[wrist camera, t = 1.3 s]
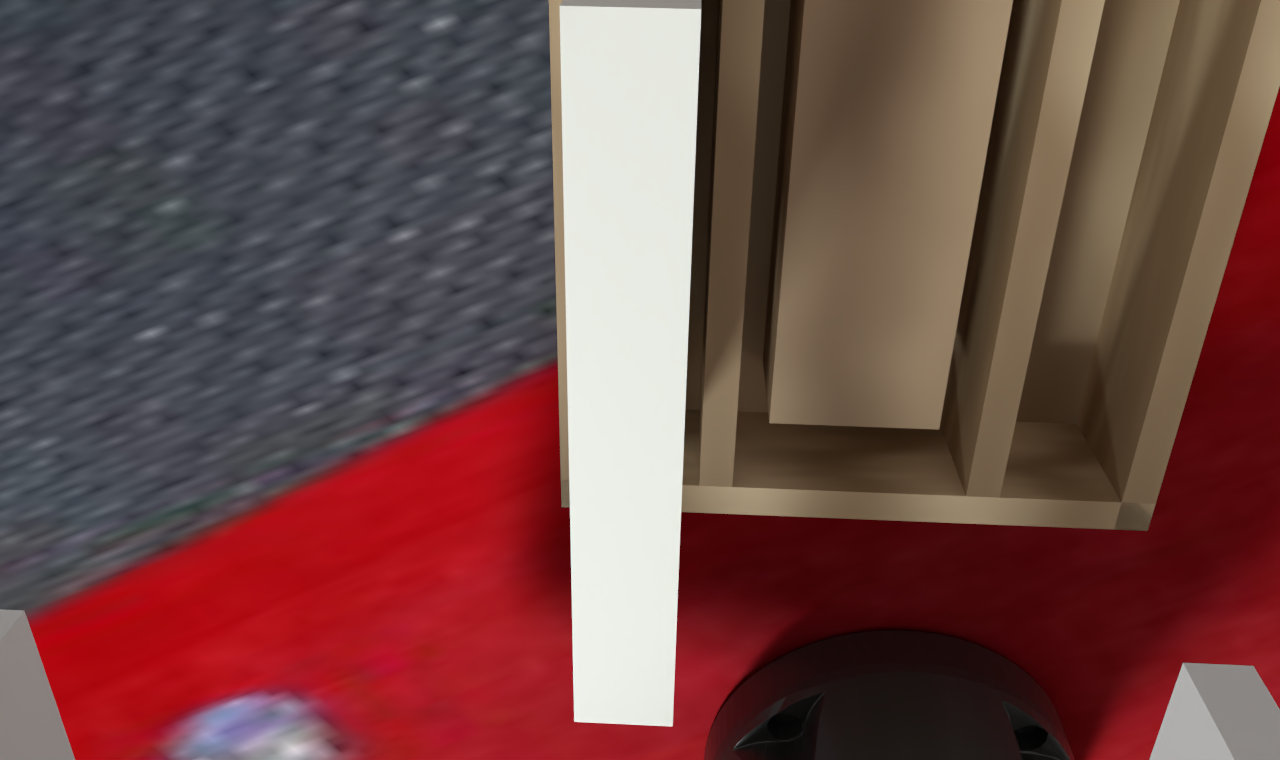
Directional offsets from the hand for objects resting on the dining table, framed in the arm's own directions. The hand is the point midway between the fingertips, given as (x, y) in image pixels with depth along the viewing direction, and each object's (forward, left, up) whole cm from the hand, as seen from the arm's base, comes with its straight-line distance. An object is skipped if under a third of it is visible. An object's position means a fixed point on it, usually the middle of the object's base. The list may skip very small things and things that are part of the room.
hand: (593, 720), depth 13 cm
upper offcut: (0, -6, -21) cm, 22 cm away
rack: (0, -6, -24) cm, 25 cm away
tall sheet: (0, 0, -23) cm, 23 cm away
